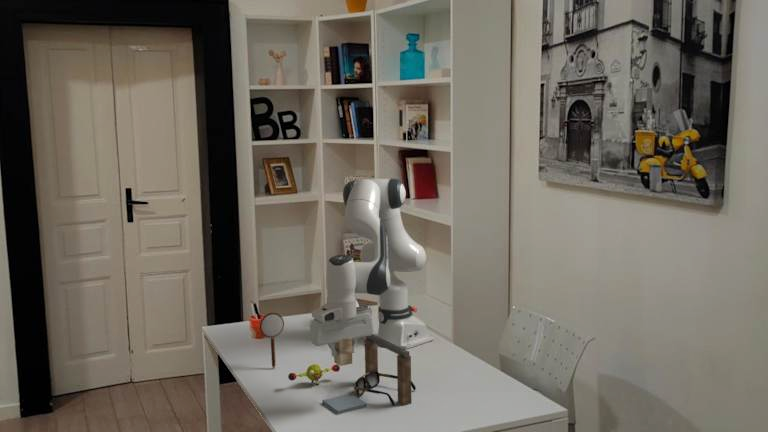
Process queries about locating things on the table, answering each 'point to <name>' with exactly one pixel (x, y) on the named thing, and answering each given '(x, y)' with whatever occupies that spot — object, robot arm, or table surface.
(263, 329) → the magnifying glass
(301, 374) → the toy figure
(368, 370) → the rod stand
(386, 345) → the rod
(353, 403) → the pad
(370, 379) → the sunglasses
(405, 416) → the table surface
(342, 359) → the block
